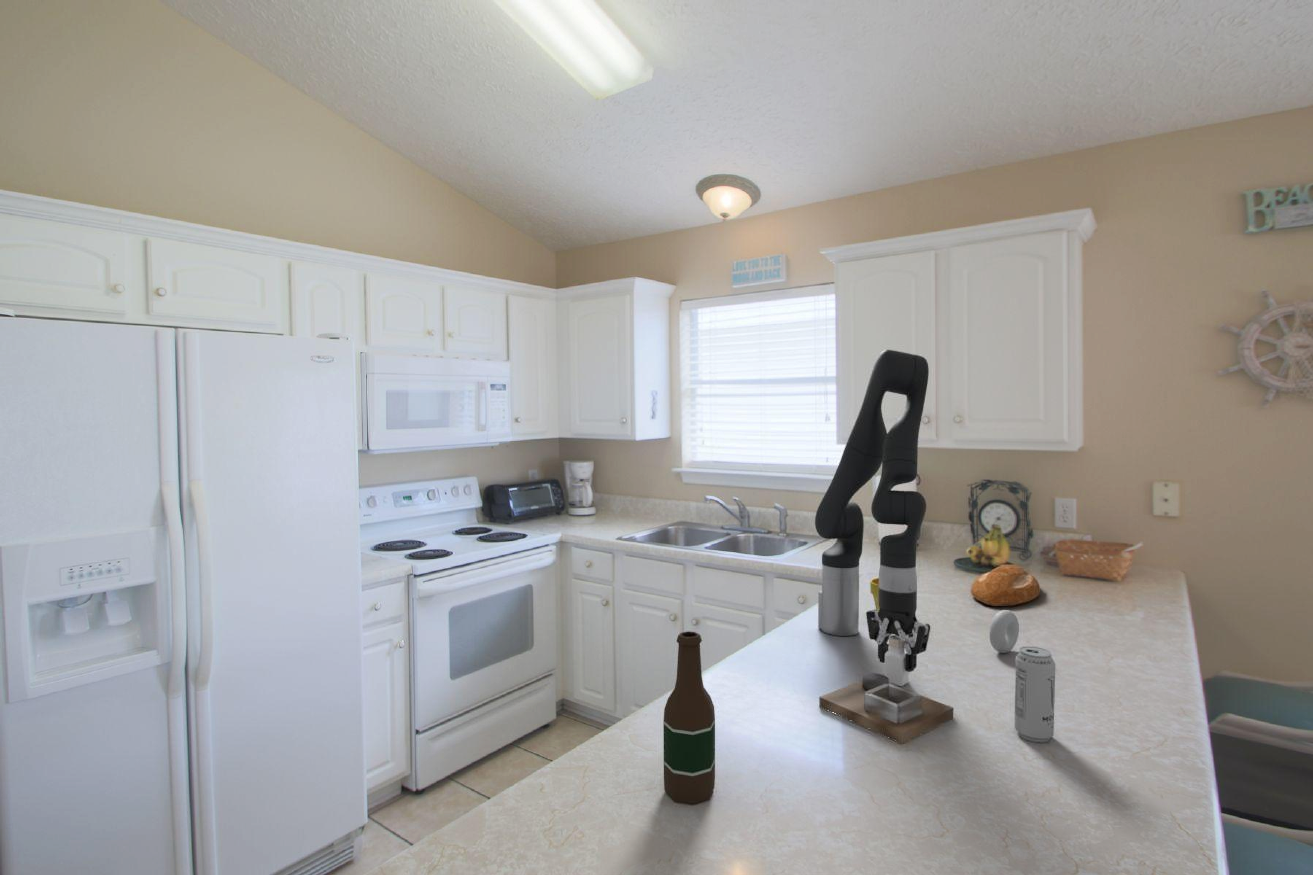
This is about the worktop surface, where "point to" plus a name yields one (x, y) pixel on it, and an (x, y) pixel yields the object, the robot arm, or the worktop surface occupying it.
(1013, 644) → the donut
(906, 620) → the robot arm
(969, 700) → the worktop surface
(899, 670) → the salt shaker
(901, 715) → the carrier board
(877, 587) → the plant pot
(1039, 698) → the energy drink can
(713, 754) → the beer bottle
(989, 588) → the bread
